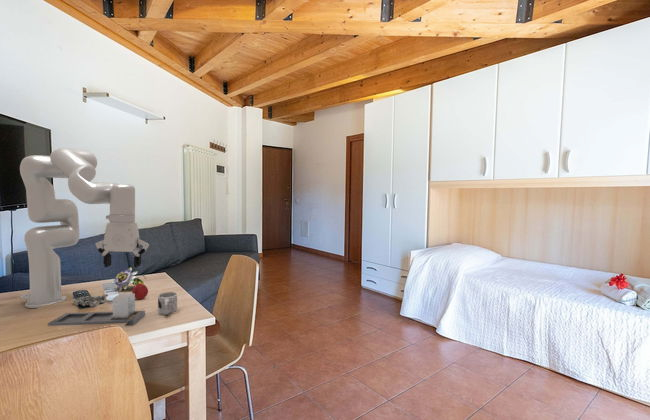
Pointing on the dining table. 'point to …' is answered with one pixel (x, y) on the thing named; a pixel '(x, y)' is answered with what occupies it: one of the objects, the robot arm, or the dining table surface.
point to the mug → (167, 303)
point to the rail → (94, 318)
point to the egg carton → (88, 300)
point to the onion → (140, 291)
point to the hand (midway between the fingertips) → (122, 266)
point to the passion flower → (126, 279)
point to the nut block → (123, 306)
